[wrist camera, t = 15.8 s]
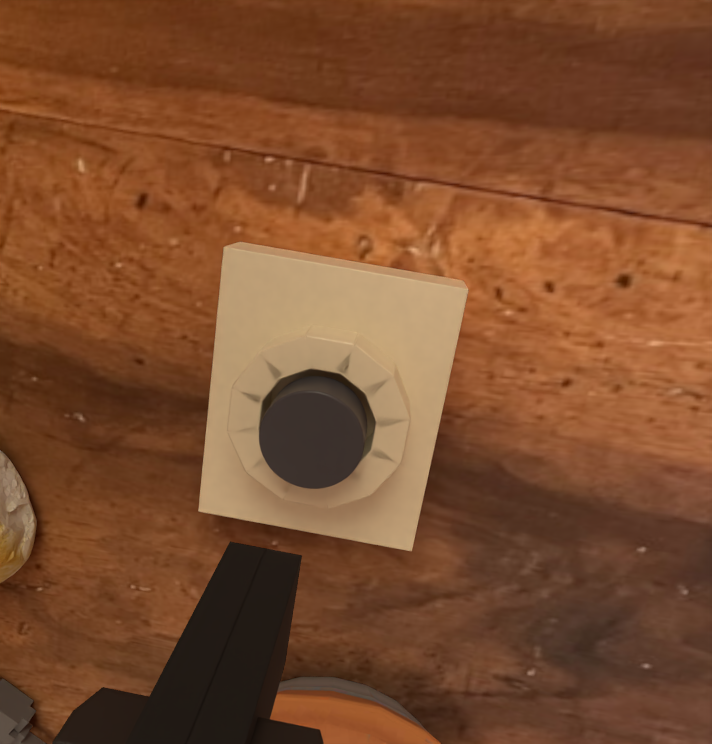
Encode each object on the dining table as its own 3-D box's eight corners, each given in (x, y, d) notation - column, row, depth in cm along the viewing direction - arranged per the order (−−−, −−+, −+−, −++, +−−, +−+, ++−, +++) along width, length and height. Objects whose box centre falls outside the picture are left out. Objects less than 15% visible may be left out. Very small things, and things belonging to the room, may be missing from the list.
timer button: (275, 367, 22) (264, 382, 20) (375, 385, 22) (372, 401, 20) (264, 457, 23) (252, 479, 21) (358, 475, 23) (354, 498, 21)
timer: (239, 241, 24) (208, 251, 21) (463, 280, 24) (473, 297, 20) (214, 487, 28) (182, 535, 24) (411, 524, 27) (412, 578, 24)
